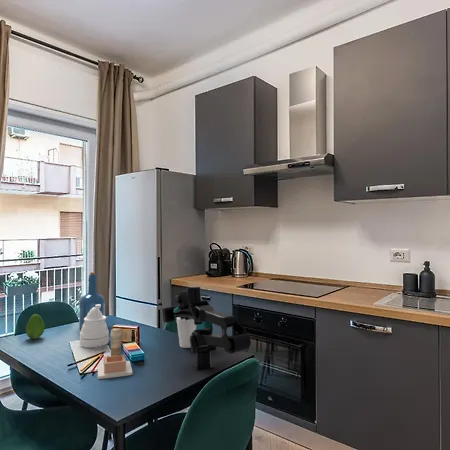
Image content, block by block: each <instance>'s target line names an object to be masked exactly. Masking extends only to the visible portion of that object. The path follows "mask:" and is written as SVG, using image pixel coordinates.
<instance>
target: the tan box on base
mask: <svg viewBox="0 0 450 450" xmlns="http://www.w3.org/2000/svg"><path fill="white" fill-rule="evenodd" d="M127 376H133V368H132V366H131V362H130V360H126V357H125V354H121V355H115V356H111V355H108V356H107V355H106V356H103V363H99V364H97V380H105V379H110V378H118V377H127Z"/></svg>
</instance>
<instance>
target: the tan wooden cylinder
mask: <svg viewBox="0 0 450 450" xmlns="http://www.w3.org/2000/svg"><path fill="white" fill-rule="evenodd" d="M115 355H122V329H121V328H112V329H110V356H115Z"/></svg>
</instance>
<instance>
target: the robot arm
mask: <svg viewBox="0 0 450 450" xmlns="http://www.w3.org/2000/svg"><path fill="white" fill-rule="evenodd" d="M201 293H202V292H201V287H200V286H195V287H186V291H182V292H180V293H177V294H176V295H175V296H174V301H175V304H178V306H177V308H178V311H175V310H174V309H175V308H174V307H173V306H167V307H162V310H161V311H162V319H163V320H162V322H163V323H164V324H165V323H166V324H167V323H168V324H169V323H172V322H173V323H174V322H175V319H177V317H180V319H181V320H183V319H185V320H190V319H192V320H194V325H196V326H198V325H203V324H204V323H203V322H208V323H210V324H214V325H216V326H217V327H220V328H221V334H216V333H213V329H212V328H209V327H207V328H201V329H196V330H194V332H192V335H191V336H190V345H191V347H190V351H191V353H192V354H196V356H195V358H196V359H195V362H193V365H194V367H195V369H196V370H197V371H203V370H211V369H214V368H215V367H214V365H213V364H212V352H213V351H217V348H223V350H224V352H226V353H227V354H230V355H233V354H237V353H241V352H247V351H249V350H250V346H251V345H252V341H251V339H250V335H249V334H248V331H247V330H246V328H245V327H244V326H242V325H241V323H239V321H238V320H237V318H236V317H235V316H234V315H230V314H226V313H223V312H220V311H217V310H215V308H214V307H213V306H212V305H210V303H209V302H208V300H207V299H204V300H202V294H201ZM229 328H232V329H233V330H234V331H235V332H236V334H233V335H228V333H227V332H228V331H227V330H228V329H229Z"/></svg>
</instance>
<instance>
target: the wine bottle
mask: <svg viewBox="0 0 450 450" xmlns="http://www.w3.org/2000/svg"><path fill="white" fill-rule="evenodd" d="M97 281H98V279H97V274H96V272H95V271H90V272H89V275H88V285H87V286H88V287H87V288H88V290H87V294H85V295H83V296H82V297H81V298H80V300H79V314H78V315H79V321H78V323H79V325H78V326H79V329H82V326H83V324H84V318H85V317H86V316H87V314H88V313H89V311H90V310H91V309H92V308H93V307H95V305H97V304H100V305H101V307H100V309H99V310H100V311H101V313H102V315H103V316H106V300H105V297H104V296H103V294H100V293H99V292H97V291H98V290H97V289H98V288H97Z"/></svg>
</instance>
